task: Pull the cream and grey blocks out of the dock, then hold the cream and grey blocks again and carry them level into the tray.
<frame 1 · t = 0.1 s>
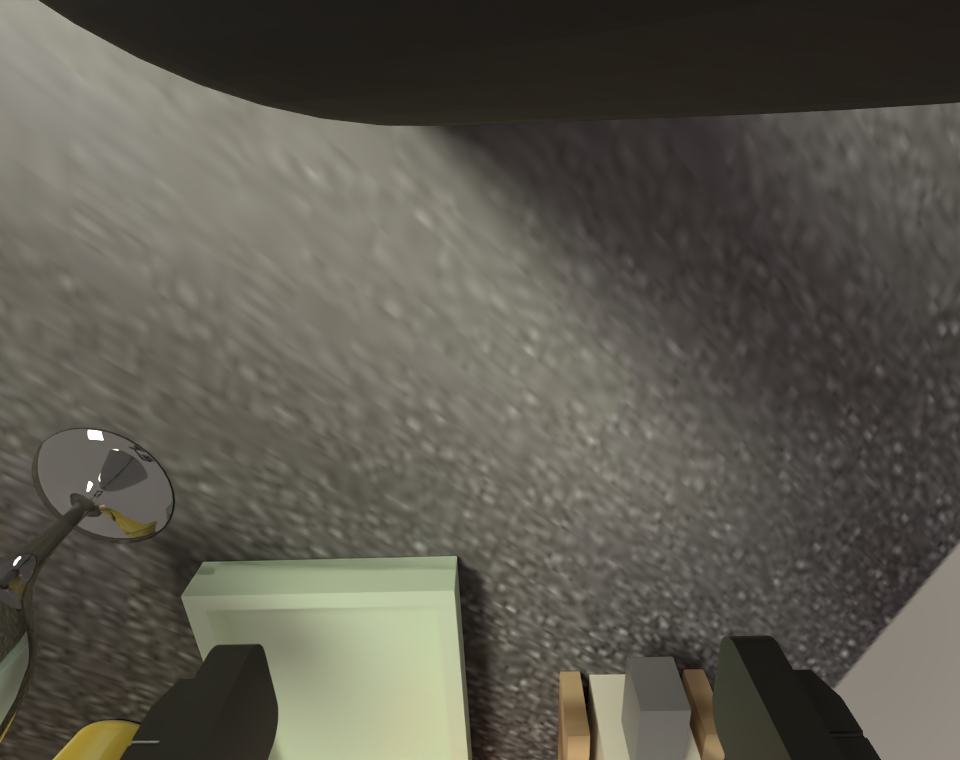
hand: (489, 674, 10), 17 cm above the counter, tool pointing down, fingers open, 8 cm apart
wine glass: (106, 486, 30), on the counter
plant pot: (131, 747, 38), on the counter
tray: (353, 685, 35), on the counter
cream and grey blocks: (625, 722, 37), on the counter
dock: (626, 724, 36), on the counter
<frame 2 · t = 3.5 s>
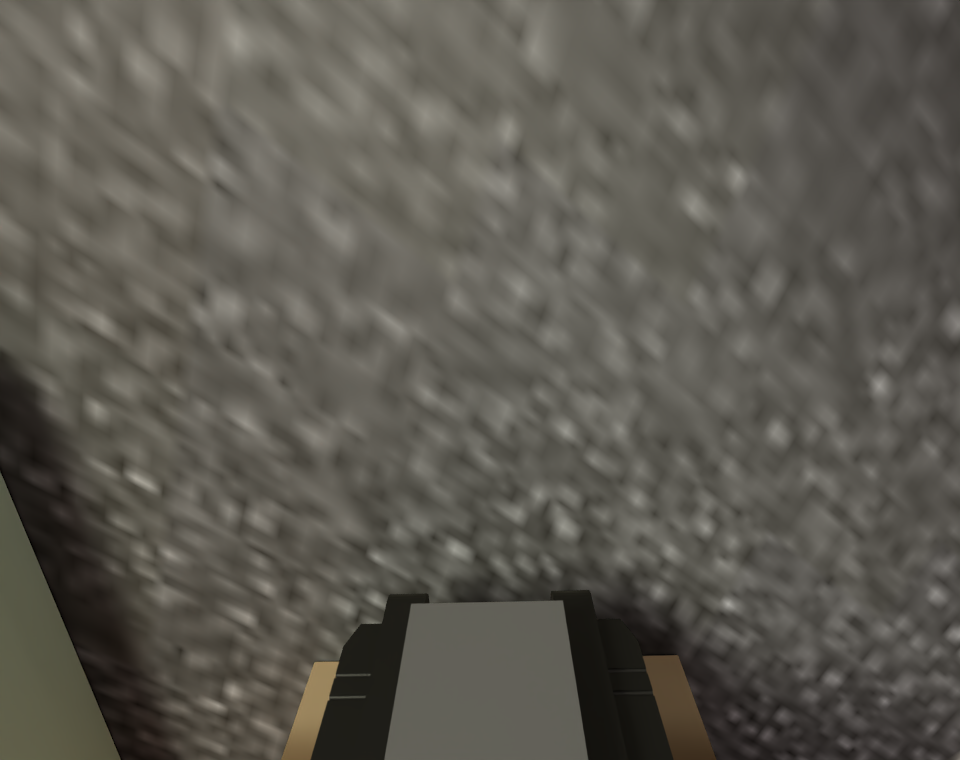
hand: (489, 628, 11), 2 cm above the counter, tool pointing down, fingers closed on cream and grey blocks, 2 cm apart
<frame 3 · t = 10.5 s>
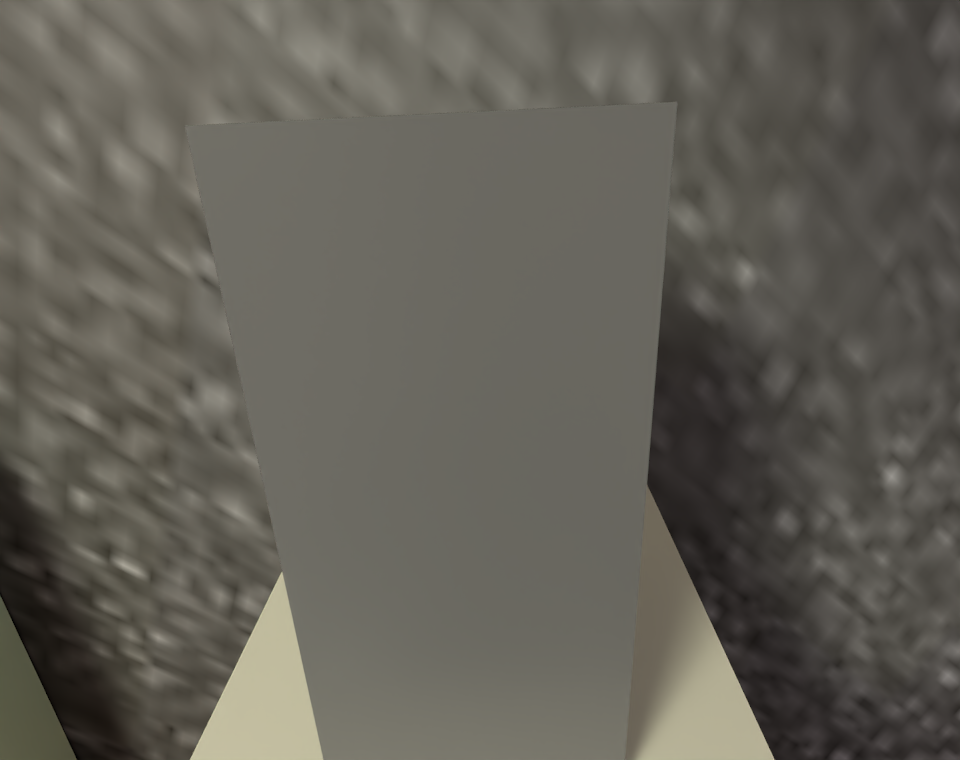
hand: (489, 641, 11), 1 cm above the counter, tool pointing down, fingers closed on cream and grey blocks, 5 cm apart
cream and grey blocks: (492, 629, 12), on the counter, touching gripper
when the fingers open (3 cm above the counter, at t = 16.2 s): cream and grey blocks drops 1 cm, resting on tray.
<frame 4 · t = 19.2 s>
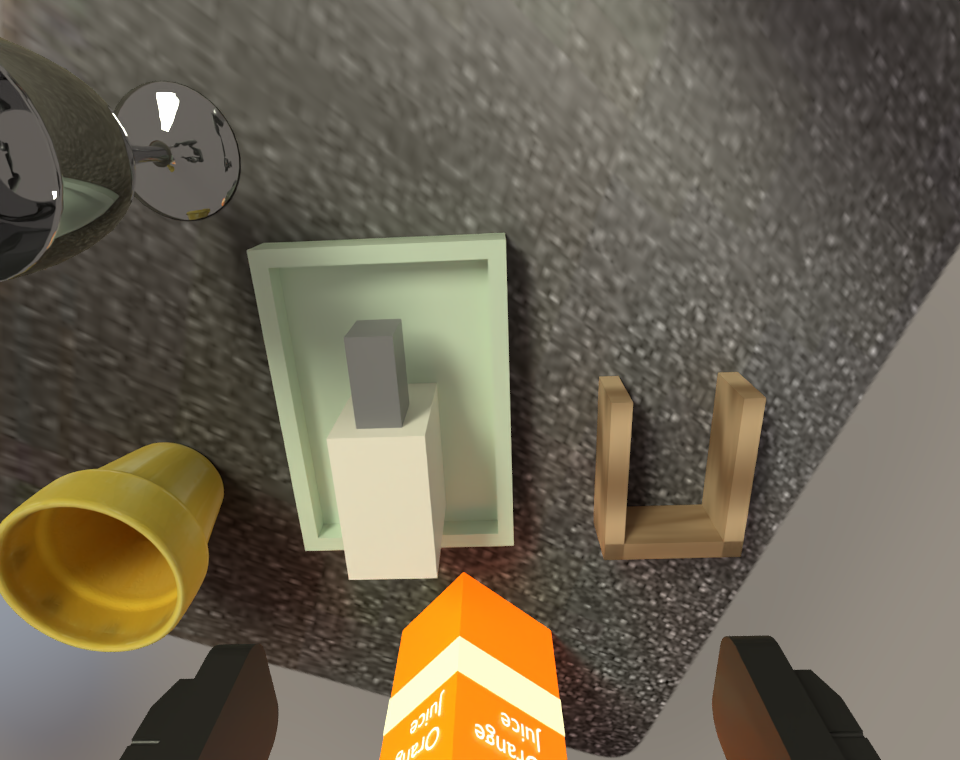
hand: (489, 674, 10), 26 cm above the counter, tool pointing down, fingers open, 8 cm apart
wine glass: (176, 153, 32), on the counter
plant pot: (180, 481, 40), on the counter
tray: (400, 396, 37), on the counter
cream and grey blocks: (403, 448, 37), point 1 cm above the counter, touching tray
orange juice: (476, 628, 44), on the counter
dock: (662, 443, 38), on the counter
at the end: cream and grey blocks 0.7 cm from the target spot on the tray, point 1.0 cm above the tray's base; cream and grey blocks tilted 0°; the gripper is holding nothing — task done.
